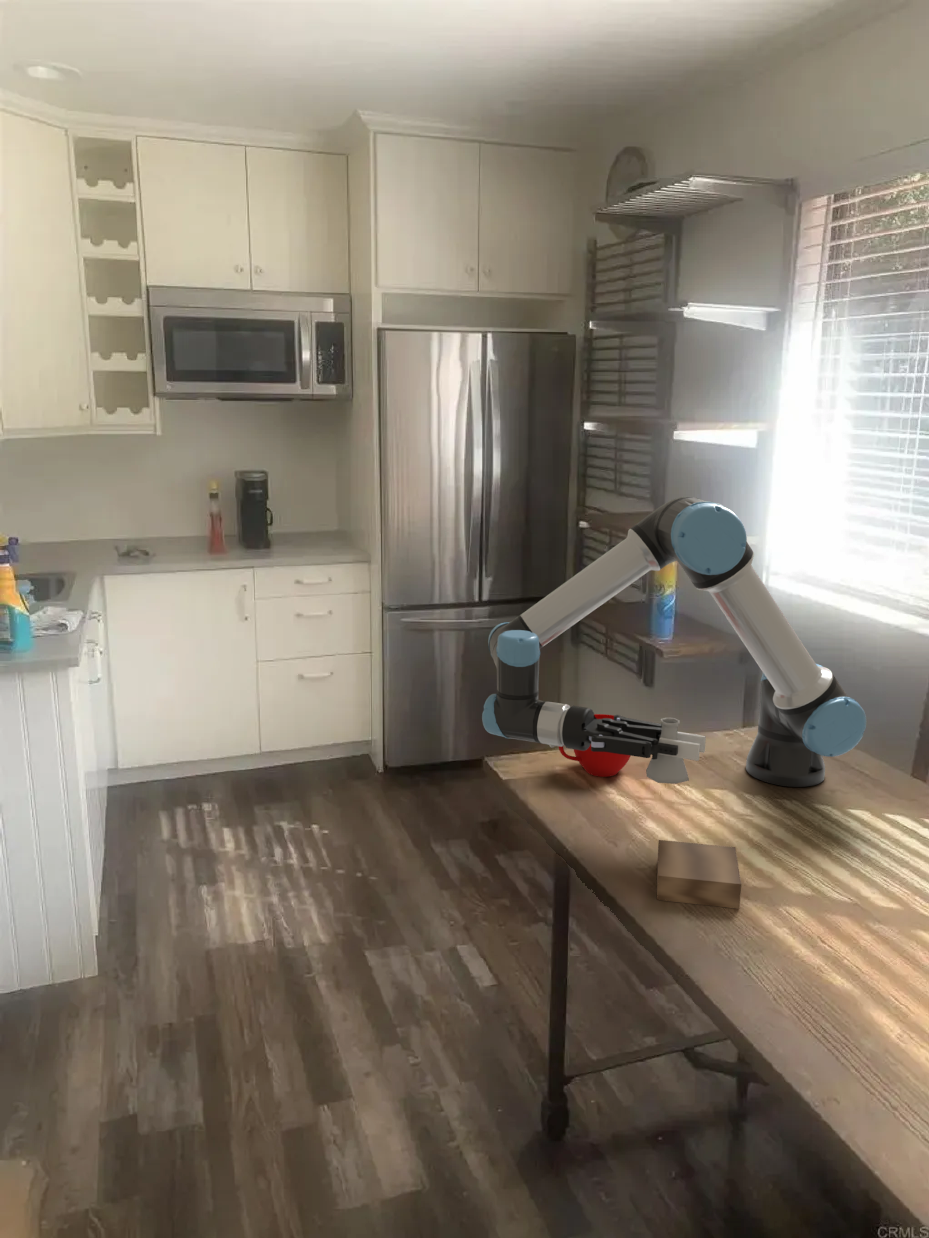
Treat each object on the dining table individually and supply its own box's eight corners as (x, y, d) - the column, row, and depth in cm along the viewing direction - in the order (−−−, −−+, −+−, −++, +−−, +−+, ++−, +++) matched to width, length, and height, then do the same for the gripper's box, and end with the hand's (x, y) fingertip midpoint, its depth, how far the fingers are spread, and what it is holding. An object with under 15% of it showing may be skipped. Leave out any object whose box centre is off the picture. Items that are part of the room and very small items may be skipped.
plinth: (733, 869, 148) (735, 847, 147) (739, 908, 136) (741, 884, 135) (657, 862, 150) (658, 839, 149) (656, 899, 138) (658, 875, 138)
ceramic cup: (541, 768, 189) (542, 722, 186) (608, 755, 196) (610, 710, 194) (576, 791, 178) (578, 742, 175) (646, 776, 185) (649, 729, 183)
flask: (679, 767, 159) (682, 712, 157) (696, 783, 152) (699, 726, 150) (639, 770, 158) (641, 714, 155) (654, 786, 151) (657, 729, 148)
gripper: (583, 732, 169) (711, 753, 159) (549, 762, 155) (688, 787, 145) (584, 693, 168) (714, 712, 157) (550, 719, 153) (691, 742, 143)
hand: (701, 748), depth 151 cm, fingers closed on flask, 3 cm apart
